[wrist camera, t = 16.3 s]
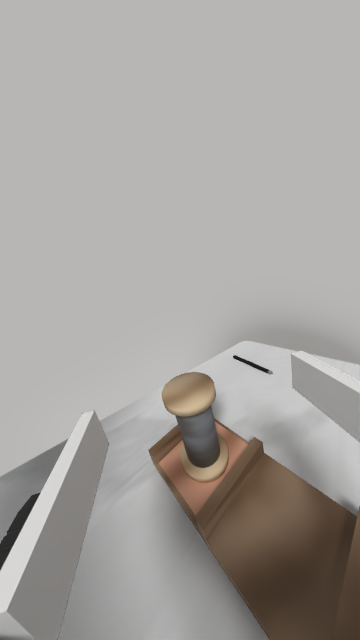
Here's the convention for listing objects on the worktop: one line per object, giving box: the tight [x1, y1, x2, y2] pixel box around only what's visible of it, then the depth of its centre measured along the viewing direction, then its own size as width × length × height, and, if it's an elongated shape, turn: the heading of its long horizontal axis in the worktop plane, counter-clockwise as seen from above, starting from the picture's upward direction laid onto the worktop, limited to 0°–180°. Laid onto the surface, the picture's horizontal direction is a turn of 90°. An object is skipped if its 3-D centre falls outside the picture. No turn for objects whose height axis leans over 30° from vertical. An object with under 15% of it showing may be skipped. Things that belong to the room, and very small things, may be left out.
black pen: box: [233, 355, 273, 374], centre depth 47 cm, size 12×1×1 cm, turn 28°
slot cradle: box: [149, 419, 360, 640], centre depth 22 cm, size 23×12×3 cm, turn 38°
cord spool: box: [162, 372, 229, 483], centre depth 25 cm, size 7×7×12 cm
